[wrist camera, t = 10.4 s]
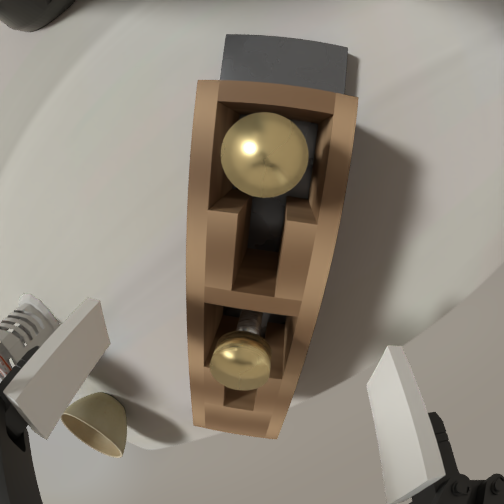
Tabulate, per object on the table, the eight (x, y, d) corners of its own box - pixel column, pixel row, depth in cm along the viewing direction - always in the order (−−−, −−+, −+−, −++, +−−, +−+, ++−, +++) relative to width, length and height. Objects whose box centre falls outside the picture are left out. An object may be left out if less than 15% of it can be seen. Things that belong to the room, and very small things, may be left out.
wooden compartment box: (225, 98, 16) (197, 80, 10) (335, 111, 15) (358, 97, 10) (209, 377, 25) (193, 425, 20) (280, 388, 25) (276, 439, 19)
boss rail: (229, 39, 15) (184, -28, 6) (345, 51, 14) (387, -11, 6) (206, 349, 25) (175, 430, 16) (290, 362, 24) (287, 449, 16)
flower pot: (124, 387, 30) (101, 427, 23) (149, 428, 34) (133, 464, 27) (72, 373, 31) (47, 405, 25) (99, 414, 35) (81, 445, 28)
